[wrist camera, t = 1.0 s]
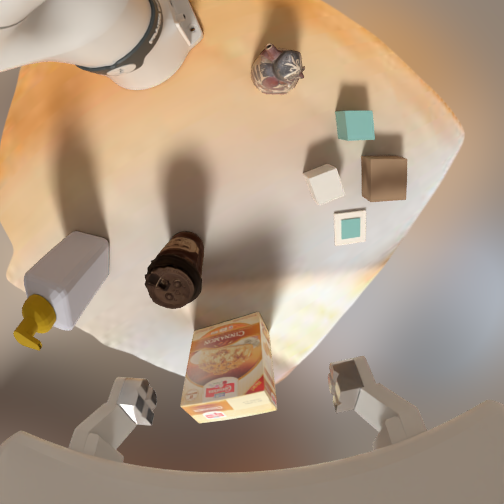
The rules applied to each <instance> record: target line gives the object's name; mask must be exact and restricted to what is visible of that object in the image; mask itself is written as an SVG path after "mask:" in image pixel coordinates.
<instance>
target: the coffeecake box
mask: <svg viewBox="0 0 504 504" xmlns="http://www.w3.org/2000/svg"><path fill="white" fill-rule="evenodd" d="M180 406H181V407H182V408H183V409H184V410H185V411H186V412H187V413H188V414H190V415H191V416H192V417H193V418H194V419H195V420H196V421H197V422H198V423H204V422H213V421H221V420H227V419H234V418H240V417H245V416H251V415H256V414H261V413H266V412H270V411H275V410H277V402H276V392H275V382H274V372H273V363H272V354H271V344H270V335H269V332H268V330H267V328H266V326H265V324H264V322H263V320H262V317H261V315H260V313H259V312H255V313H252V314H249V315H246V316H243V317H239V318H236V319H233V320H230V321H226V322H223V323H220V324H216V325H213V326H210V327H206V328H203V329H199V330H195V331H194V334H193V339H192V344H191V349H190V355H189V360H188V365H187V371H186V376H185V382H184V387H183V394H182V399H181V405H180Z"/></svg>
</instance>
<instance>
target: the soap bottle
mask: <svg viewBox="0 0 504 504" xmlns="http://www.w3.org/2000/svg"><path fill="white" fill-rule="evenodd" d="M108 275H109V244H108V241H107V240H106V239H104V238H102V237H98V236H94V235H90V234H86V233H82V232H78V231H74V232H72V233H70V234H69V235H68V236H67V237H66V238H64V239H63V240H62V241H61V242H60V243H58V244H57V245H56V246H55V247H54V248H53V249H51V250H50V251H49V252H48V253H47V254H46V255H45V256H44V257H42V258H41V259H40V260H39V261H38V262H37V263H36V264H35V265H34V266H33V267H32V268H31V269H30V270H29V271H27V272H26V273H25V276H24V286H25V290H26V294H27V300H26V301H25V303H24V305H23V307H22V315H23V317H24V319H23V321H22V322H21V323H20V325H19V326H18V327H17V328H16V330H15V331H14V333H13V334H14V337H15V338H16V340H17V341H18V342H19V343H20V344H22V345H23V346H26V347H29V348H33V349H36V350H40V349H41V347H42V344H41V342H40V341H39V340H38V339H36V338H34V337H33V336H34V334H35V333H36V332H38V333H45V332H48V331H49V330H50V329H51V328H52V326H55V327H57V328H60V329H62V330H72V329H73V327H74V326H75V324H76V322H77V321H78V319H79V318H80V316H81V315H82V313H83V312H84V310H85V309H86V307H87V306H88V304H89V303H90V301H91V300H92V298H93V297H94V295H95V294H96V293H97V291H98V290H99V288H100V287H101V285H102V284H103V283H104V281H105V280H106V278H107V277H108Z"/></svg>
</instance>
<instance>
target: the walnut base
mask: <svg viewBox="0 0 504 504" xmlns="http://www.w3.org/2000/svg"><path fill="white" fill-rule="evenodd" d="M361 166H362V196H363V197H364V198H366V199H367V200H368V201H370V202H379V201H393V200H406V188H407V159H405V158H402V157H399V156H361Z"/></svg>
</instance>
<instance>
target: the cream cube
mask: <svg viewBox="0 0 504 504" xmlns="http://www.w3.org/2000/svg"><path fill="white" fill-rule="evenodd" d="M303 175H304V178H305V180H306V183H307V186H308V188H309V191H310V194H311V196H312V198H313V200H314V201H315V202H316V203H317V204H318V206H320V205H322V204H325V203H327V202H330V201H332V200H335V199H337V198H340V197H343V196H345V193H344V189H343V186H342V183H341V180H340V177H339V174H338V171H337V168H335V167H334V166H332V165H330V164H325V165H323V166H320V167H317V168H315V169H312V170H310V171H307V172H305V173H303Z"/></svg>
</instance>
